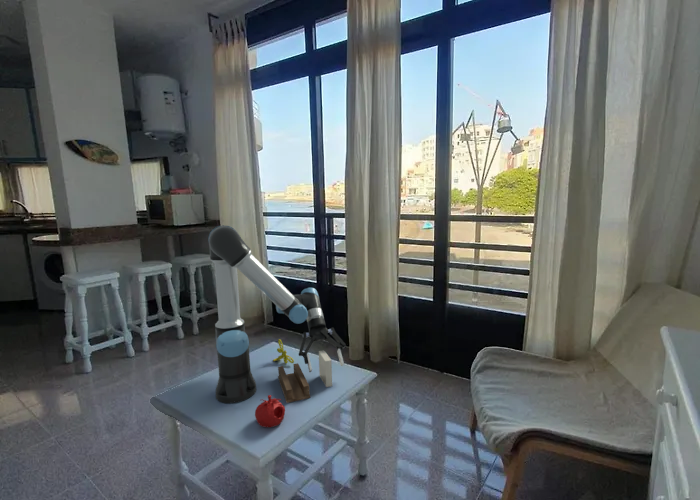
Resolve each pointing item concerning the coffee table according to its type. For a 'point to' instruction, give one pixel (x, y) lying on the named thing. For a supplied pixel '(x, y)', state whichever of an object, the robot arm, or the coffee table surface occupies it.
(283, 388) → the rack
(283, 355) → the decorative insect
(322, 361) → the cream rectangular block
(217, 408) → the coffee table surface
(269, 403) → the pomegranate
